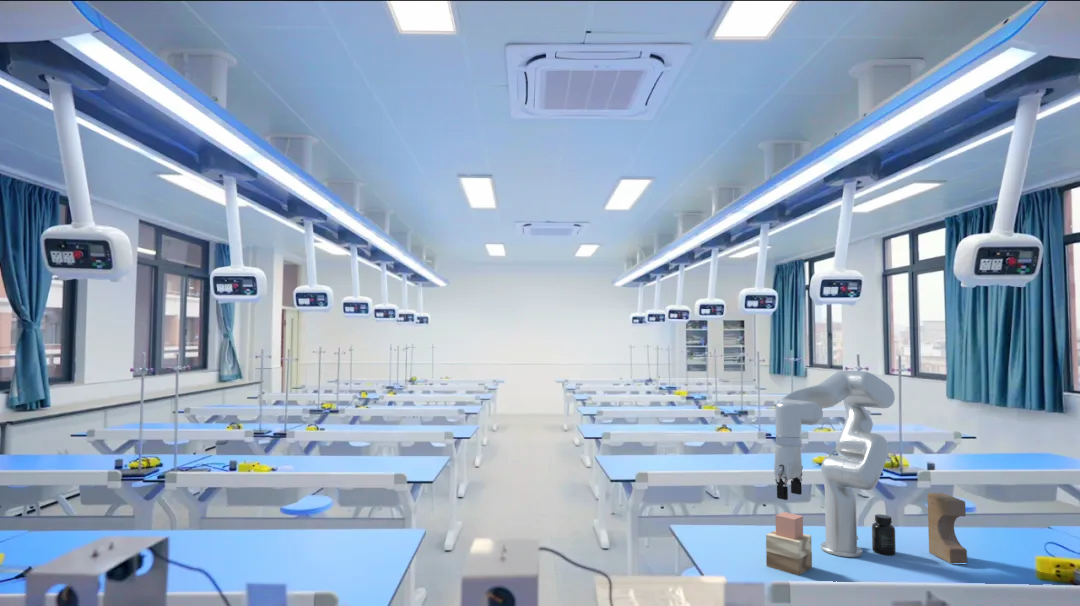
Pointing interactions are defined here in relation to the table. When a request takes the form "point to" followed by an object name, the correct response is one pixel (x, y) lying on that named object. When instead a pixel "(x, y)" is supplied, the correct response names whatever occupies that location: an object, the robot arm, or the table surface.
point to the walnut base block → (789, 563)
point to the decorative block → (945, 527)
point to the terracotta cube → (789, 525)
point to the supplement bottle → (883, 536)
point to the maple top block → (788, 545)
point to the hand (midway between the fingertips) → (789, 496)
